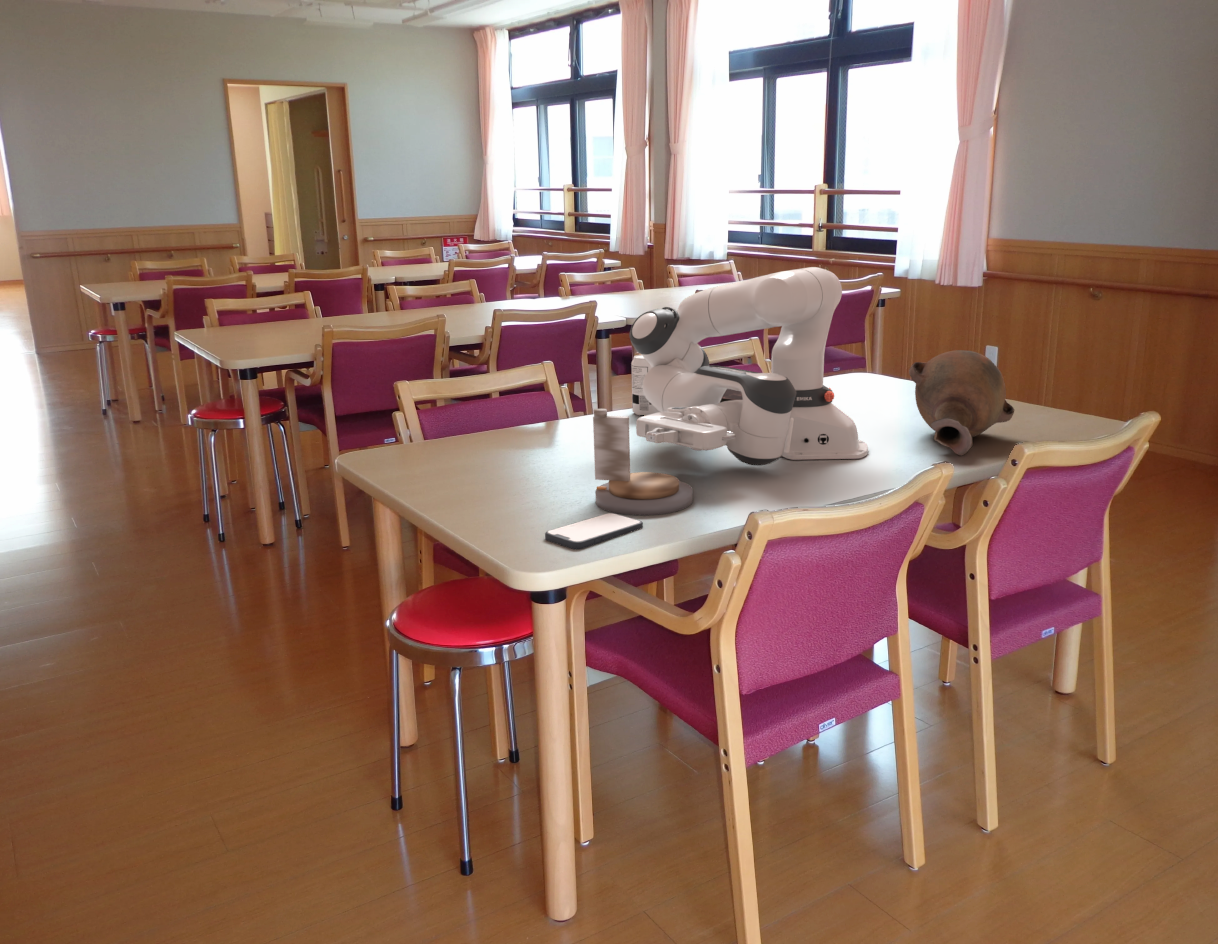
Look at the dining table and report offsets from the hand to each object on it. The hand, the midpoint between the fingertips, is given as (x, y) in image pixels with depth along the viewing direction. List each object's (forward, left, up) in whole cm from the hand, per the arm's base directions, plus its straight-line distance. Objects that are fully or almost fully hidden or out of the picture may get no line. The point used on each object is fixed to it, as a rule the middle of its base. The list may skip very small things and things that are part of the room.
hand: (651, 438), depth 189 cm
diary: (-12, -76, -11) cm, 78 cm away
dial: (+1, +9, -8) cm, 12 cm away
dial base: (0, +9, -10) cm, 13 cm away
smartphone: (+4, +28, -11) cm, 30 cm away
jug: (-60, -45, -10) cm, 76 cm away
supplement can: (+14, -69, -10) cm, 71 cm away
